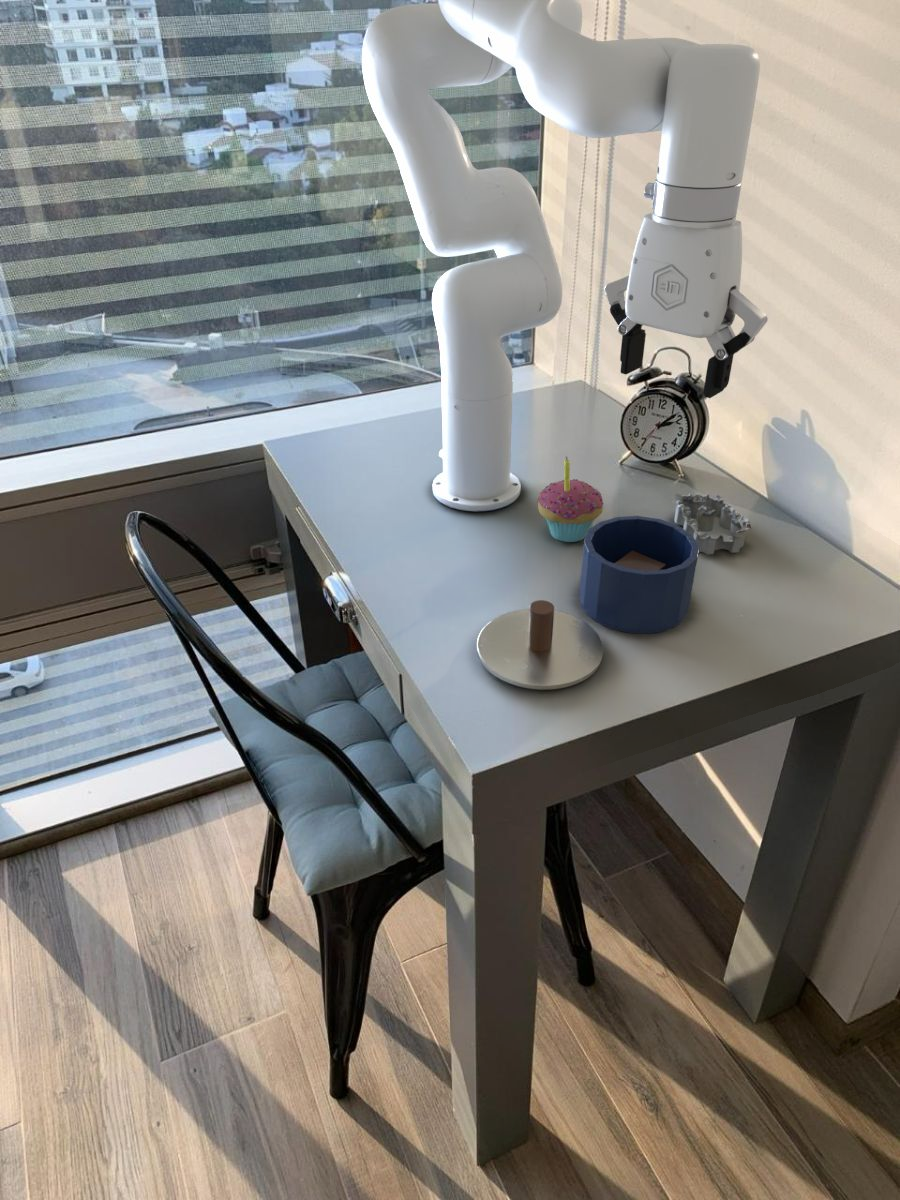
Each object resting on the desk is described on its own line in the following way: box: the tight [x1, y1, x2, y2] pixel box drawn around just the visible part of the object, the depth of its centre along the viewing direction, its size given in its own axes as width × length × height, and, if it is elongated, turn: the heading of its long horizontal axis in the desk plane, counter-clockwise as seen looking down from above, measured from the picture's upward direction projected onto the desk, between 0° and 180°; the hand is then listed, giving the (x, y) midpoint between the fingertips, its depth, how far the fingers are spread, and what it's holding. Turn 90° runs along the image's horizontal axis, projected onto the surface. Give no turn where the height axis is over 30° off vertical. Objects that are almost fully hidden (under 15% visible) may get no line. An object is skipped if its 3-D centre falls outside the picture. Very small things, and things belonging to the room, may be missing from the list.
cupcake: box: [537, 455, 604, 543], centre depth 115 cm, size 9×8×12 cm
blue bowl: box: [578, 515, 700, 635], centre depth 103 cm, size 13×13×8 cm
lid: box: [476, 599, 604, 691], centre depth 96 cm, size 14×14×6 cm
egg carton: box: [673, 493, 752, 555], centre depth 117 cm, size 11×8×4 cm
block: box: [614, 551, 666, 571], centre depth 104 cm, size 5×5×5 cm
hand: (671, 381), depth 92 cm, fingers open, 9 cm apart
